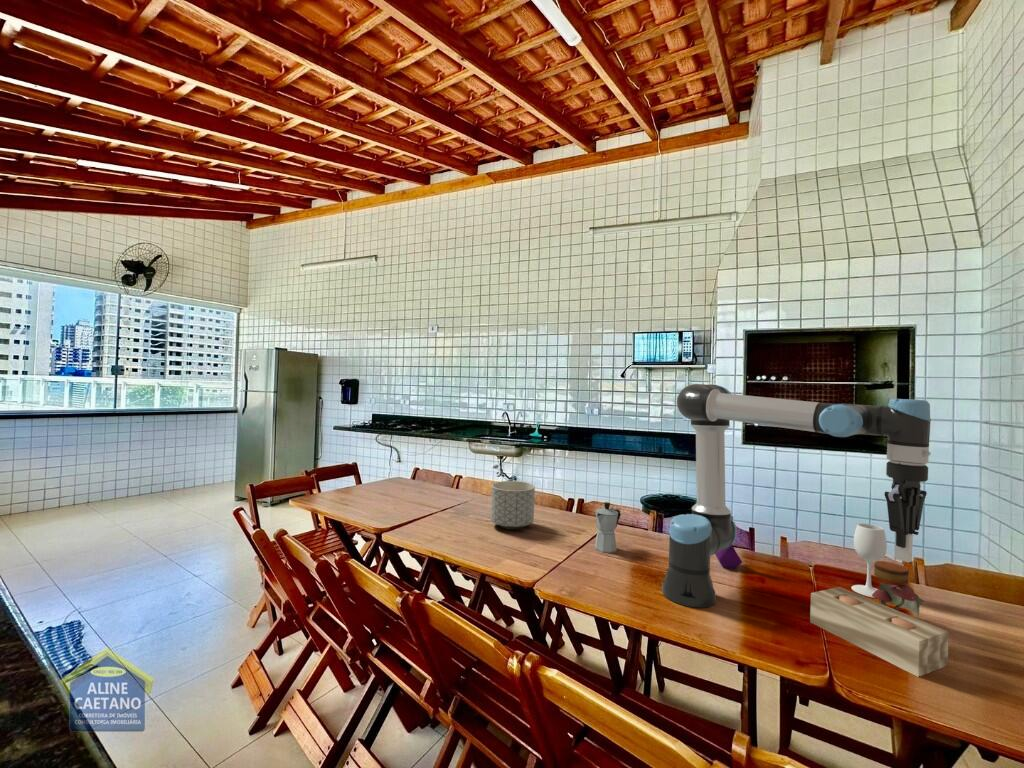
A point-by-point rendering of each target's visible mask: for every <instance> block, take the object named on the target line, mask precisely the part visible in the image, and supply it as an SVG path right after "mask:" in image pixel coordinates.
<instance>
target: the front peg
mask: <svg viewBox="0 0 1024 768" xmlns="http://www.w3.org/2000/svg"><path fill="white" fill-rule="evenodd" d="M892 623H894V624H896V625H898V626H901V627H903V628H905V629H908V630H912V629H914V624H913V623H911V622H910V621H908V620H905V619H901V618H892Z"/></svg>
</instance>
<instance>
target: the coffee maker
mask: <svg viewBox="0 0 1024 768" xmlns="http://www.w3.org/2000/svg"><path fill="white" fill-rule="evenodd" d="M603 505H604V507H603V508H598V509H596V510H595V520H596V521H595V522H596V528H597V533H596V537H595V543H594V549H595V551H598V552H600V553H605V554H613V553H615V552H617V551H618V550H617V549H618V548H617V541H616V533H615V530H616V529H617V526H618V525H619V521H620V518H621V515H622V514H621V511H620V509H618V508H613V507H611V506H610V505H611V503H610V502H607V501H604V502H603Z"/></svg>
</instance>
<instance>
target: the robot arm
mask: <svg viewBox="0 0 1024 768" xmlns="http://www.w3.org/2000/svg"><path fill="white" fill-rule="evenodd" d="M676 405H677V409H678V411H679V413H680V414H681V415H682V416H683V417H684V418H686V419H688V420H690V426H691V427H692V428H693V429H694V430H695V463H696V465H695V466H696V467H695V468H696V469H695V470H696V474H695V475H696V479H695V480H696V503H695V504H694V505H692V506H691V513H686V514H678V515H675V516H674V517H673V518H671V520H670V523H669V529H668V530H669V531H668V534H669V538H668V540H669V541H668V543H669V545H668V548H669V549H668V568H667V570H666V573H665V575H664V576H665V577H664V578H663V581H662V583H661V592H662V595H664V597H666V598H667V599H668V600H670V601H671V602H673V603H675V604H679V605H682V606H686V607H691V608H707V607H708V608H709V607H711V606H713V605H714V604H715V603H716V599H717V598H716V597H717V595H716V591H715V588H714V585H713V581H712V576H711V556H713V555H715V554H716V553H718V552H721V551H724V550H726V549H727V548H729V547H730V546H731V545H734V543H735V541H736V539H737V535H738V530H737V524H736V523H735V521H734V519H733V520H732V519H731V516H732V512H731V510H730V509H729V508H728V507H727V505H726V456H725V455H726V454H725V453H726V450H725V443H726V442H725V439H726V438H725V433H726V430H727V429H729V427H730V421H734V422H739V423H740V422H741V423H746V424H757V425H764V426H770V427H775V428H776V427H777V428H784V429H789V430H790V429H791V430H799V431H807V432H813V433H819V434H825V435H826V434H827V435H830V436H832V437H837V438H847V437H851V436H856V435H866V436H868V435H870V436H880V437H887V442H886V443H887V445H886V446H887V447H886V448H887V449H886V459H887V460H889V461H887V462H886V467H885V468H886V469H885V470H886V471H885V472H886V473H885V474H886V476H887V477H888V478H891V479H892V483H891V491H884V493H883V494H884V496H885V497H884V498H885V500H886V505H887V506H886V508H887V514H888V515H887V516H888V517H887V518H888V526H889V530H890V531H891V532H895V541H894V543H895V546H894V559H896V560H899V561H902V562H906V563H912V562H913V545H914V544H913V540H914V535H915V536H918V535H919V534H920V533H919V530H920V526H921V520H922V516H923V510H924V502H925V499H926V496H927V491H926V490H922V489H921V483H924V482H927V481H928V480H929V467H928V465H926V464H928V463H929V458H930V457H929V456H931V454H932V453H931V452H930V435H931V420H932V419H931V405H930V403H929V401H928V400H925V399H912V398H911V399H908V398H907V399H906V398H904V399H903V398H891V399H890V400H889V402H888V404H887V405H869V404H867V405H866V404H854V403H853V404H851V403H827V402H818V401H817V402H816V401H808V400H807V401H806V400H805V401H804V400H798V399H796V400H795V399H786V398H775V397H768V396H767V397H765V396H754V395H747V394H746V395H745V394H733V393H732V392H731V391H729V389H727V387H723V386H721V385H718V384H705V383H704V384H701V383H693V384H690V385H687V386H685V387H684V388H682V389H681V391H680V392H679V394H678V396H677V398H676Z"/></svg>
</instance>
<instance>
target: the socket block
mask: <svg viewBox="0 0 1024 768" xmlns="http://www.w3.org/2000/svg"><path fill="white" fill-rule="evenodd" d="M841 595H844V596H849V597H853V598H855V599H857V600H858V605H854V606H852V605H850V604H848V603H846V602H843V601H841V600H839V596H841ZM892 608H893V607H889V606H888V605H887V606H885V605H883V604H881V602H879V601H878V602H877V601H876V600H872V599H870V598H869V597H866V596H864V595H861V594H859V593H857V592H854V591H851V590H848V589H846V588H843V587H841V586H835V587H832V588H828V589H823V590H818V591H814V592H811V593H810V609H809V610H810V611H809V615H810V617H809V622H810V623H811V624H812V625H815V626H817V627H818V628H820V629H823V630H825V631H827V632H829V633H830V634H833V635H834V636H837V637H838V638H841V639H842V640H845V641H846V642H848V643H850V644H852V645H854V646H856V647H859V648H860V649H862V650H864V651H866V652H867V653H869V654H872V655H874V656H875V657H878V658H880V659H881V660H883V661H886V662H888V663H890V664H892V665H894V666H896V667H898V668H899V669H901V670H903V671H905V672H907V673H909V674H911V675H914V676H915V677H917V678H920V677H923V676H925V675H928V674H931V673H933V672H935V671H938V670H940V669H943V668H946V667H948V665H949V663H948V662H949V631H948V630H947V629H943V628H941V627H938V626H936V625H934V624H931V623H929V622H927V621H925V620H921V619H920V618H918V617H917V618H916V617H915V616H912V615H909V614H907V613H905V612H901V611H900V610H898V611H897V610H895V609H894V608H893V609H892ZM892 618H901V619H905V620H908V621H910V622H911V623H913V624H914V629H912V630H908V629H905V628H903V627H901V626H898V625H896V624H894V623H892ZM932 671H933V672H932ZM919 676H920V677H919Z"/></svg>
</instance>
